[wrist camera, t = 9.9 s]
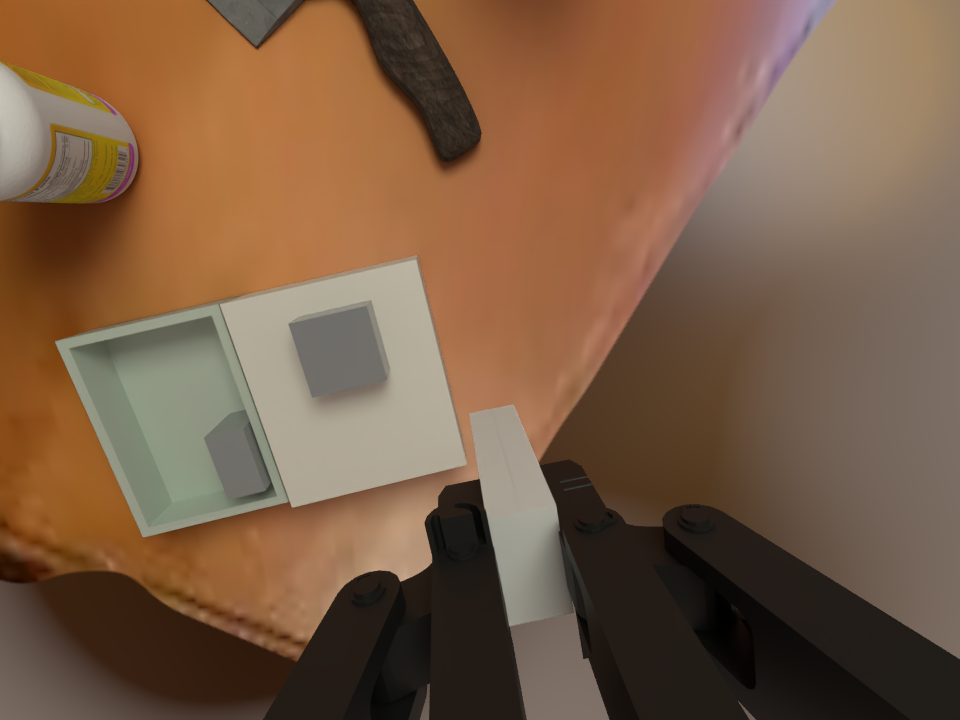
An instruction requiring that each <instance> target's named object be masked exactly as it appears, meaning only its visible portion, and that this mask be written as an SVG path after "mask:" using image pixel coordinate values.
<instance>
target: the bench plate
mask: <svg viewBox="0 0 960 720" xmlns="http://www.w3.org/2000/svg"><path fill="white" fill-rule="evenodd" d="M368 300H372V304H373V308H374V311H375V315H376V318H377V322H378V326H379V329H380V333H381V337H382V340H383V344H384V347H385V351H386V355H387V358H388V362H389V366H390V372H389V376H388V379H387V380H384V381H380V382H376V383H372V384H368V385H363V386H359V387H355V388H351V389H346V390H342V391H338V392H334V393H330V394H325V395H321V396H317V397H313V398H312V396H311V393H310V390H309V386H308V383H307V380H306V377H305V374H304V371H303V368H302V365H301V362H300V359H299V356H298V352H297V349H296V346H295V343H294V340H293V337H292V334H291V331H290V328H289V325H288V324H289V323H290V322H292V321H293V320H295V319H296V318H297V317H299V316H303V315H307V314H312V313H316V312H320V311H325V310H329V309H333V308H338V307H342V306H346V305H351V304H355V303H359V302H364V301H368ZM220 307H221V309H222V312H223V315H224V318H225V321H226V323H227V326H228V329H229V332H230V335H231V338H232V340H233V343H234V346H235V349H236V352H237V354H238V357H239V360H240V363H241V366H242V368H243V371H244V374H245V377H246V380H247V382H248V385H249V388H250V391H251V394H252V397H253V399H254V402H255V405H256V408H257V411H258V413H259V416H260V419H261V422H262V425H263V427H264V430H265V433H266V436H267V439H268V442H269V444H270V447H271V450H272V453H273V456H274V458H275V461H276V464H277V467H278V470H279V472H280V475H281V478H282V481H283V484H284V486H285V489H286V492H287V495H288V498H289V501H290V503H291V506H292V508H293V507H297V506H301V505H305V504H309V503H314V502H318V501H322V500H326V499H330V498H334V497H338V496H342V495H346V494H350V493H354V492H358V491H362V490H366V489H371V488H375V487H379V486H383V485H387V484H391V483H395V482H399V481H403V480H407V479H411V478H415V477H419V476H423V475H428V474H432V473H436V472H440V471H444V470H448V469H452V468H456V467H460V466H464V465H467V461H466V455H465V449H464V443H463V437H462V433H461V429H460V425H459V421H458V416H457V412H456V408H455V404H454V400H453V396H452V392H451V388H450V384H449V380H448V376H447V372H446V368H445V364H444V360H443V356H442V352H441V348H440V343H439V339H438V335H437V331H436V327H435V323H434V319H433V315H432V311H431V307H430V303H429V299H428V295H427V291H426V287H425V283H424V279H423V275H422V270H421V266H420V262H419V258H418V255H416V256H411V257H407V258H402V259H398V260H394V261H389V262H385V263H381V264H376V265H372V266H368V267H363V268H359V269H354V270H350V271H346V272H341V273H337V274H333V275H328V276H324V277H320V278H315V279H311V280H306V281H302V282H298V283H293V284H289V285H285V286H280V287H276V288H272V289H267V290H263V291H258V292H254V293H250V294H246V295H244V296H241V297H238V298H236V299H233V300H230V301H228V302H225V303H222V304H220Z"/></svg>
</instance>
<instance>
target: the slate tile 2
mask: <svg viewBox="0 0 960 720" xmlns="http://www.w3.org/2000/svg"><path fill="white" fill-rule="evenodd" d="M288 325H289V328H290V331H291V334H292V337H293V340H294V343H295V346H296V349H297V352H298V356H299V359H300V362H301V365H302V368H303V371H304V374H305V377H306V380H307V383H308V386H309V390H310V393H311V396H312V398H313V397H317V396H321V395H325V394H330V393H334V392H338V391H342V390H346V389H351V388H355V387H359V386H363V385H368V384H372V383H376V382H380V381H384V380H387V379H388V376H389V372H390V366H389V362H388V358H387V355H386V351H385V347H384V344H383V340H382V337H381V333H380V329H379V326H378V322H377V318H376V315H375V311H374V308H373V304H372V300H368V301H364V302H359V303H355V304H351V305H346V306H342V307H338V308H333V309H329V310H325V311H320V312H316V313H312V314H307V315H303V316H299V317H297V318H296V319H295V320H293V321H292V322H290V323H289V324H288Z"/></svg>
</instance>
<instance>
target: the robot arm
mask: <svg viewBox="0 0 960 720" xmlns="http://www.w3.org/2000/svg"><path fill="white" fill-rule="evenodd" d="M469 414H470V421H471V427H472V433H473V440H474V446H475V452H476V458H477V465H478V471H479V477H480V479H478V480H473V481H468V482H463V483H458V484H453V485H448V486H445V488H444V489H443V491H442V492H441V494H440V495H439V496H438V508H436V509H434V510H433V511H432V512H431V513H430V514H429V515H428V516H427V518H426V520H425V527H426V532H427V536H428V540H429V544H430V549H431V553H432V563H431V564H430V566H429V567H427V568H426V569H425V570H423V571H422V572H421V573H419V574H417V575H415V576H413V577H411V578H409V579H406V580H404V581H402V582H400V581H399V579H398V577H397V575H395V574H393V573H391V572H390V571H374V572H368V573H365V574H363V575H360V576H358V577H356V578H354V579H353V580H351V581H350V582H349V583H347V584H346V585H345V586H344V587H343V588H342V589H341V590H340V592H339V593H338V594H337V596H336V597H335V599H334V601H333V603H332V604H331V606H330V608H329V609H328V611H327V613H326V614H325V616H324V618H323V619H322V621H321V623H320V624H319V626H318V628H317V629H316V631H315V633H314V635H313V636H312V638H311V640H310V641H309V643H308V645H307V646H306V648H305V650H304V651H303V653H302V655H301V656H300V658H299V660H298V661H297V663H296V665H295V667H294V668H293V670H292V672H291V674H290V675H289V677H288V678H287V680H286V682H285V684H284V685H283V687H282V688H281V690H280V692H279V693H278V695H277V697H276V699H275V700H274V702H273V704H272V705H271V707H270V709H269V710H268V712H267V714H266V716H265V718H264V719H263V720H420V717H421V713H422V709H423V706H424V703H425V699H426V694H427V684H429V683H430V711H429V720H527V719H526V714H525V708H524V703H523V697H522V691H521V686H520V681H519V675H518V669H517V664H516V658H515V653H514V647H513V642H512V637H511V632H510V627H509V626H513V625H518V624H522V623H527V622H532V621H537V620H541V619H546V618H551V617H555V616H560V615H565V614H570V613H573V612H574V611H573V605H572V601H573V604H574V607H575V610H576V616H577V622H578V629H579V635H580V640H581V647H582V652H583V659H585V658H589V661H590V664H591V667H592V670H593V673H594V676H595V679H596V682H597V685H598V687H599V690H600V693H601V696H602V699H603V702H604V705H605V708H606V710H607V714H608V716H609V719H610V720H749V718H748V717H747V715H746V713H745V712H744V710H743V709H742V707H741V705H740V704H739V702H740V703H741V704H742V705H743V706H744V707H745V708H746V709H747V710H748V711H749V713H750V714H751V715H752V716H753V717H754V718H755V719H756V720H960V659H958V658H957V657H955V656H953V655H952V654H950V653H949V652H947V651H946V650H944V649H942V648H941V647H939V646H938V645H936V644H934V643H933V642H931V641H930V640H928V639H926V638H924V637H923V636H922V635H920V634H918V633H917V632H915V631H914V630H912V629H910V628H909V627H907V626H905V625H904V624H902V623H901V622H899V621H897V620H896V619H894V618H892V617H891V616H889V615H888V614H886V613H885V612H883V611H881V610H880V609H878V608H877V607H875V606H873V605H872V604H870V603H869V602H867V601H865V600H864V599H862V598H860V597H859V596H857V595H856V594H854V593H852V592H851V591H849V590H848V589H846V588H844V587H843V586H841V585H839V584H838V583H836V582H834V581H833V580H831V579H830V578H828V577H827V576H825V575H823V574H822V573H820V572H819V571H817V570H815V569H814V568H812V567H811V566H809V565H807V564H806V563H804V562H803V561H801V560H799V559H798V558H796V557H795V556H793V555H791V554H790V553H788V552H787V551H785V550H783V549H782V548H780V547H778V546H777V545H775V544H774V543H772V542H771V541H769V540H767V539H766V538H764V537H763V536H761V535H759V534H757V533H756V532H754V531H753V530H751V529H750V528H748V527H746V526H745V525H743V524H742V523H740V522H738V521H737V520H735V519H734V518H732V517H730V516H729V515H727V514H726V513H724V512H722V511H720V510H718V509H715V508H713V507H710V506H704V505H699V504H693V505H691V504H689V505H683V506H679V507H675V508H673V509H671V510H669V511H668V512H667V513H666V514H665V515H664V517H663V518H662V521H663V527H644V526H633V525H629V524H626V523H625V521H624V520H623V518H622V517H621V516H620V515H619V514H618V513H617V512H616V511H614V510H611V509H608V508H606V506H605V505H604V503H603V502H602V500H601V498H600V496H599V495H598V493H597V492H596V490H595V488H594V486H593V485H592V484H591V481H590V480H589V478H588V477H587V475H586V473H585V471H584V470H583V468H582V466H580V465H578V464H577V463H575V462H573V461H571V460H564V461H560V462H554V463H550V464H545V465H540V466H539V463H538V461H537V459H536V456H535V454H534V452H533V449H532V447H531V444H530V442H529V440H528V437H527V435H526V433H525V430H524V428H523V426H522V423H521V421H520V418H519V416H518V414H517V411H516V409H515V407H514V404H513V405H508V406H503V407H498V408H493V409H488V410H483V411H478V412H473V413H469ZM571 598H572V599H571ZM737 700H738V701H739V702H738V701H737Z"/></svg>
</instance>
